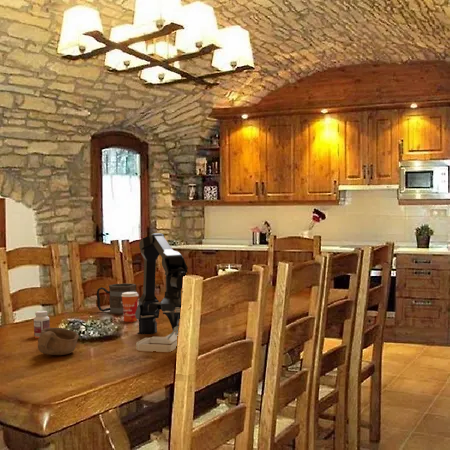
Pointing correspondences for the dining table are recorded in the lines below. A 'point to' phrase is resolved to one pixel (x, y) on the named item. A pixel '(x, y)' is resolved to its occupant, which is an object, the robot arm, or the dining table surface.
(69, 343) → the bowl
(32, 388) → the dining table surface
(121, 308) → the mug
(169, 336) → the grey lever handle
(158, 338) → the beige square tray
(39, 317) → the pill bottle
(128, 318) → the paper cup
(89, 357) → the dining table surface
